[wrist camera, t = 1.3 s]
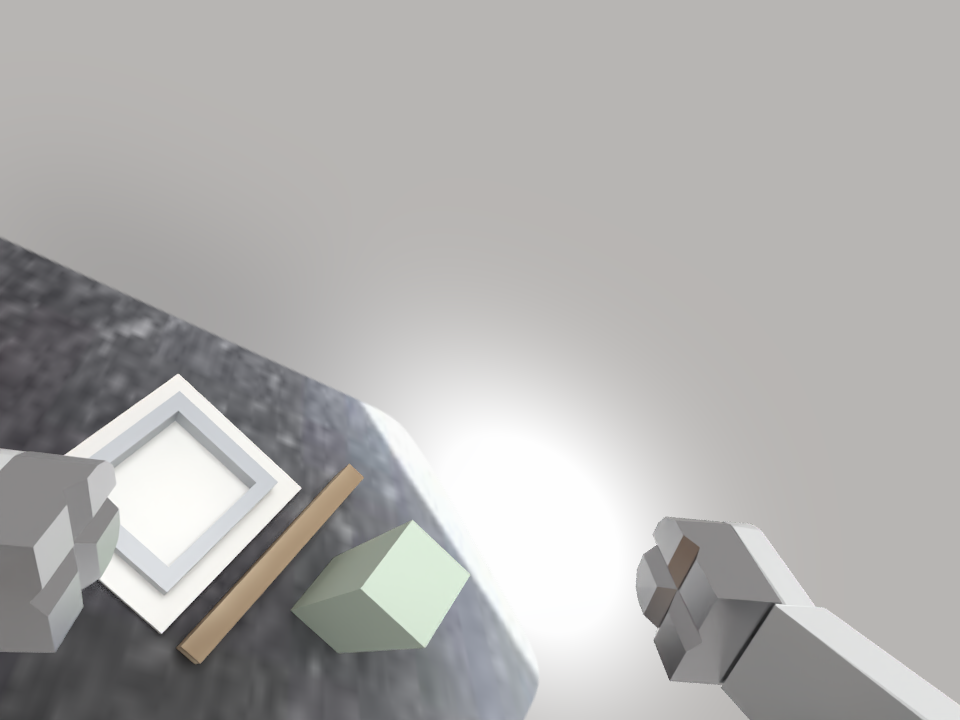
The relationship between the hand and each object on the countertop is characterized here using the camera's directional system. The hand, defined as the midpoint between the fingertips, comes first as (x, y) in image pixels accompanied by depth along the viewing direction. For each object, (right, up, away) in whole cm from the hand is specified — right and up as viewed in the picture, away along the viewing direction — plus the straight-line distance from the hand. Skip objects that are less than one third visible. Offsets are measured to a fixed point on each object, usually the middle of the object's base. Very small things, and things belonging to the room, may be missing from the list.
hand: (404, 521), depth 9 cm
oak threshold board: (-13, -11, +31) cm, 36 cm away
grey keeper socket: (-20, -7, +30) cm, 36 cm away
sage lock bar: (-9, -15, +32) cm, 37 cm away
